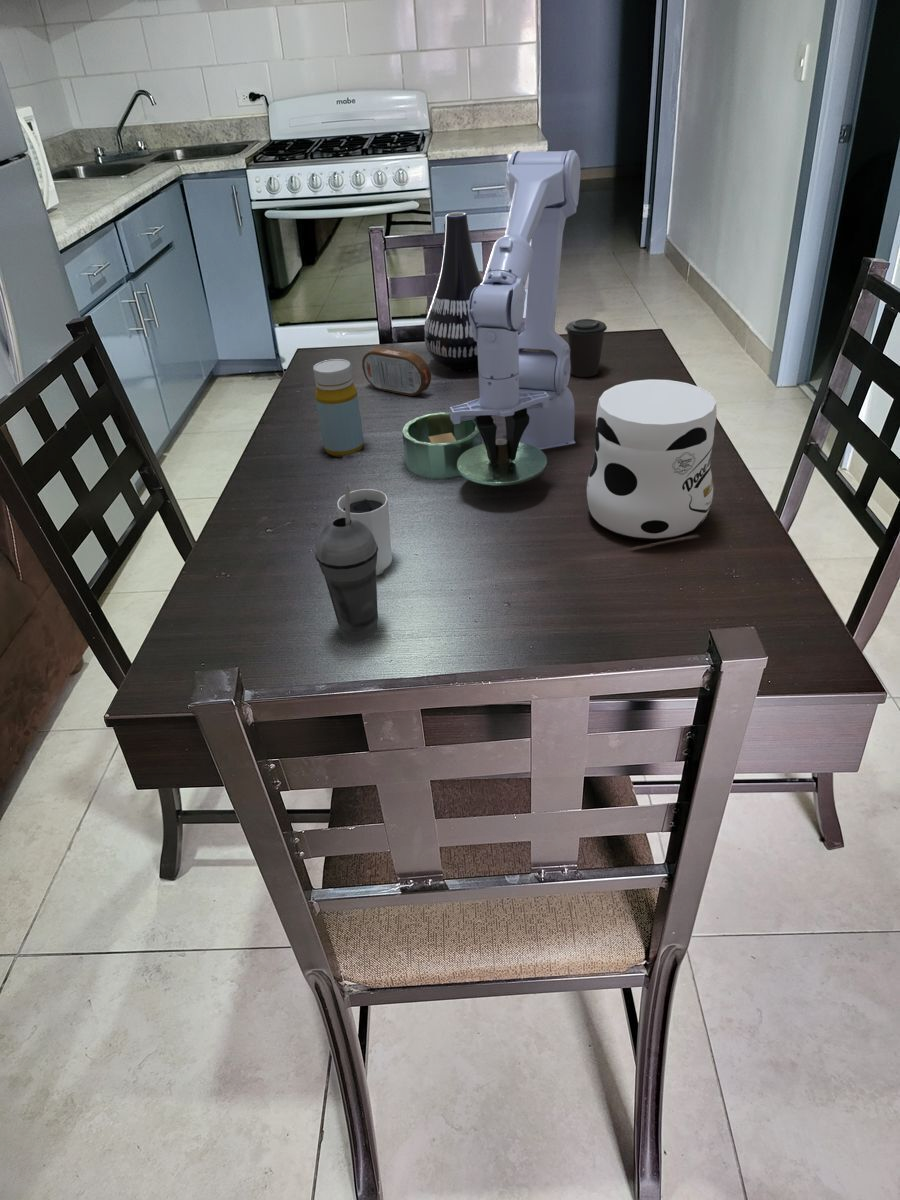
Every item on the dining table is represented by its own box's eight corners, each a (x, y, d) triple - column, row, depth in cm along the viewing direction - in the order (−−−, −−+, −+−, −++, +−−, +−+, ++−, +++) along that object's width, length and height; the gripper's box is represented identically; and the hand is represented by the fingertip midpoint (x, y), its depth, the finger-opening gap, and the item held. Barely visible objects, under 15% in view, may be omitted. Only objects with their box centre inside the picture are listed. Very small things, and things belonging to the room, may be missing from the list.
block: (452, 454, 140) (451, 432, 138) (459, 464, 137) (457, 442, 135) (429, 458, 140) (428, 436, 137) (435, 468, 136) (433, 446, 134)
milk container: (729, 541, 114) (748, 418, 103) (607, 559, 112) (614, 436, 102) (680, 483, 128) (693, 369, 117) (571, 499, 126) (573, 384, 116)
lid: (529, 441, 133) (529, 416, 131) (560, 479, 122) (560, 452, 120) (447, 456, 131) (445, 431, 128) (471, 496, 120) (469, 469, 118)
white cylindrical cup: (341, 559, 117) (330, 496, 111) (385, 547, 119) (377, 484, 113) (355, 583, 112) (345, 518, 106) (402, 570, 113) (394, 505, 108)
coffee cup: (607, 378, 163) (610, 327, 158) (566, 380, 164) (567, 330, 158) (602, 363, 170) (604, 314, 164) (562, 365, 170) (562, 316, 164)
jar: (470, 442, 145) (468, 407, 141) (491, 473, 135) (490, 437, 131) (399, 454, 142) (395, 419, 139) (415, 487, 132) (412, 450, 129)
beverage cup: (331, 615, 106) (305, 474, 94) (388, 609, 106) (369, 468, 95) (329, 651, 100) (301, 505, 88) (389, 645, 100) (369, 499, 89)
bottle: (358, 458, 142) (345, 373, 133) (319, 457, 143) (304, 373, 135) (369, 440, 148) (358, 358, 139) (331, 439, 149) (318, 357, 140)
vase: (411, 368, 175) (397, 217, 158) (465, 347, 183) (457, 201, 166) (463, 386, 165) (454, 227, 148) (518, 363, 174) (516, 210, 156)
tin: (433, 394, 163) (430, 352, 158) (424, 400, 161) (420, 357, 156) (372, 383, 170) (366, 342, 165) (362, 388, 168) (357, 347, 163)
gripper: (456, 390, 113) (462, 479, 121) (557, 373, 116) (556, 462, 124) (443, 372, 119) (450, 458, 127) (540, 357, 121) (540, 442, 129)
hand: (501, 459), depth 126 cm, fingers closed on lid, 2 cm apart
